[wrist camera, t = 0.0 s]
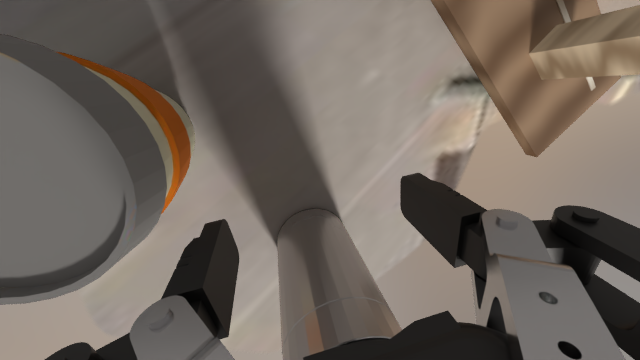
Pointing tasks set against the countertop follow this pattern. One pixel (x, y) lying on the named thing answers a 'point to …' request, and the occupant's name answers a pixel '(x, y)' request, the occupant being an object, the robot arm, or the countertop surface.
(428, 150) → the countertop surface
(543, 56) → the wooden pepper mill
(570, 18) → the walnut board
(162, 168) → the reusable coffee cup
